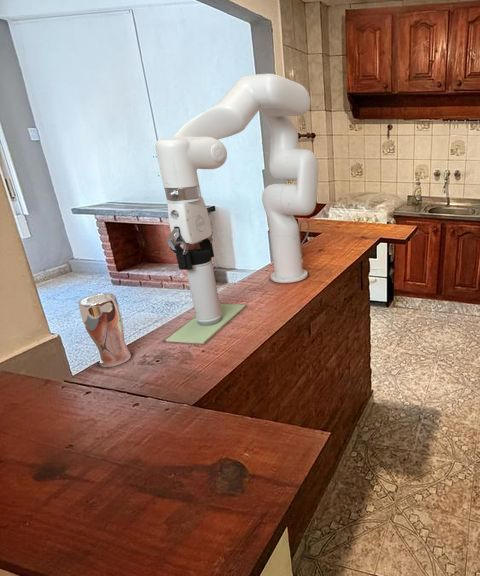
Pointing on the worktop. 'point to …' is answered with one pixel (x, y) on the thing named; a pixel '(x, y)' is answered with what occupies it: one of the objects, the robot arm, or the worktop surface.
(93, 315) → the beer glass
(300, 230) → the glass holder
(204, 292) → the travel mug
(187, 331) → the sage mat
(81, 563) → the worktop surface
